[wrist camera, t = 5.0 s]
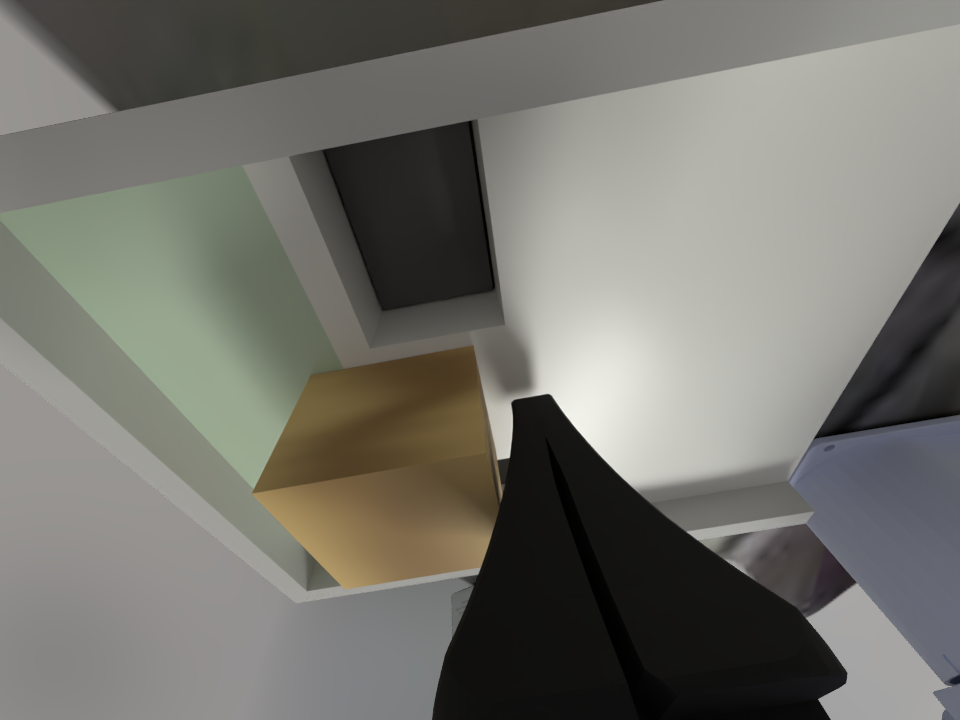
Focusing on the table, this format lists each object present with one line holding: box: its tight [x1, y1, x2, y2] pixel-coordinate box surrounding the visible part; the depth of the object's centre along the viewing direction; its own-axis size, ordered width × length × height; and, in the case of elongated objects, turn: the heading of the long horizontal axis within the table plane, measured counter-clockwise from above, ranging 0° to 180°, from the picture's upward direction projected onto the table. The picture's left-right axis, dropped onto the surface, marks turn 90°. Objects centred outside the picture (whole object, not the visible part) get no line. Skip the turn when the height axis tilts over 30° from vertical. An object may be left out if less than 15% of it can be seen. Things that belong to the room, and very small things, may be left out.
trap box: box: [0, 0, 960, 603], centre depth 12 cm, size 24×18×4 cm
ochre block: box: [252, 346, 502, 589], centre depth 10 cm, size 5×5×4 cm
